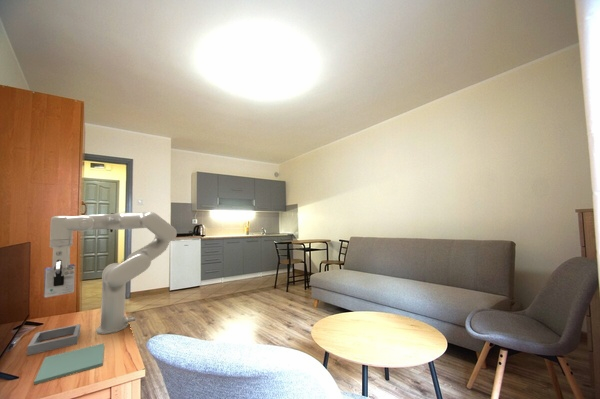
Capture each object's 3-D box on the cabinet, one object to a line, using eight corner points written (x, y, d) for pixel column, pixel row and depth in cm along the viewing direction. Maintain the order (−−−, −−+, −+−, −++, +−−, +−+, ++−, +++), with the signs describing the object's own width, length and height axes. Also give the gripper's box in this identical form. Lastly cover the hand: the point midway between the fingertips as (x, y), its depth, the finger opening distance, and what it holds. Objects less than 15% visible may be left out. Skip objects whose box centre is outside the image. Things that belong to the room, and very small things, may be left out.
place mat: (103, 345, 109) (103, 343, 109) (102, 365, 95) (102, 362, 95) (45, 359, 99) (45, 357, 99) (33, 384, 84) (33, 381, 84)
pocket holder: (80, 331, 123) (80, 323, 123) (76, 344, 111) (77, 335, 111) (36, 340, 114) (36, 332, 114) (27, 355, 102) (27, 346, 102)
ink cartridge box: (73, 290, 119) (74, 258, 120) (75, 292, 115) (76, 260, 116) (43, 295, 112) (44, 262, 112) (44, 298, 108) (45, 263, 109)
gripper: (70, 244, 110) (68, 286, 109) (74, 241, 124) (73, 278, 123) (45, 245, 105) (43, 290, 105) (53, 242, 119) (51, 281, 118)
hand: (59, 283), depth 114 cm, fingers closed on ink cartridge box, 6 cm apart
